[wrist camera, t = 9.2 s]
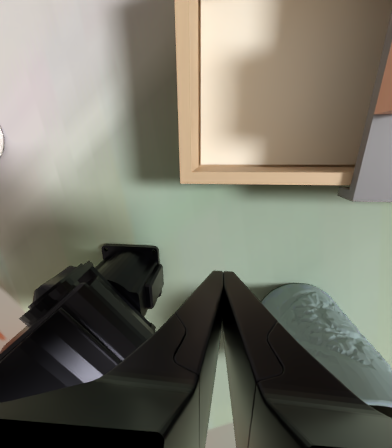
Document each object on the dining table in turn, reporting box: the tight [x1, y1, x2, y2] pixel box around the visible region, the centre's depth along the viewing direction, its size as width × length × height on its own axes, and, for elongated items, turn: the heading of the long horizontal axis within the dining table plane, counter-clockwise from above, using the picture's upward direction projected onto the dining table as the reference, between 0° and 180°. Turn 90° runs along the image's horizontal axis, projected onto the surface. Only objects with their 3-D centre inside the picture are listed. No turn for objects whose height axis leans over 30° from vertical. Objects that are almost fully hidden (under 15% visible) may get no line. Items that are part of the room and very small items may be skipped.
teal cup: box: [262, 283, 392, 418], centre depth 19 cm, size 10×10×12 cm
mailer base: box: [175, 0, 392, 185], centre depth 14 cm, size 20×14×6 cm
